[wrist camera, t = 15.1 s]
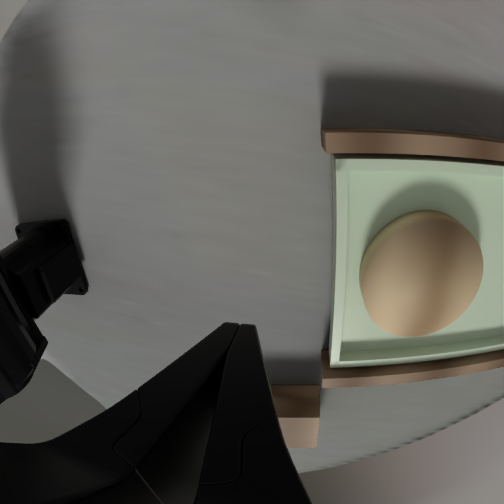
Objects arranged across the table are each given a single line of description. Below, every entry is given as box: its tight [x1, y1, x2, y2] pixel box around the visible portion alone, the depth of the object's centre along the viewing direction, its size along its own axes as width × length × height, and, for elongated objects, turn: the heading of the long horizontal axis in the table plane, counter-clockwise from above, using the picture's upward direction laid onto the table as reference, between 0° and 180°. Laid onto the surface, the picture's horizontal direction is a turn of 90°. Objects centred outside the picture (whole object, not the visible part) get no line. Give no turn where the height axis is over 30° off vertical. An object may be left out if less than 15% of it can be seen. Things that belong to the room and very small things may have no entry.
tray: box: [329, 153, 504, 368], centre depth 14 cm, size 16×14×11 cm
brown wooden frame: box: [321, 128, 504, 388], centre depth 18 cm, size 18×17×3 cm
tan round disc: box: [359, 210, 483, 337], centre depth 18 cm, size 8×8×2 cm
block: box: [270, 385, 320, 448], centre depth 25 cm, size 5×5×4 cm
